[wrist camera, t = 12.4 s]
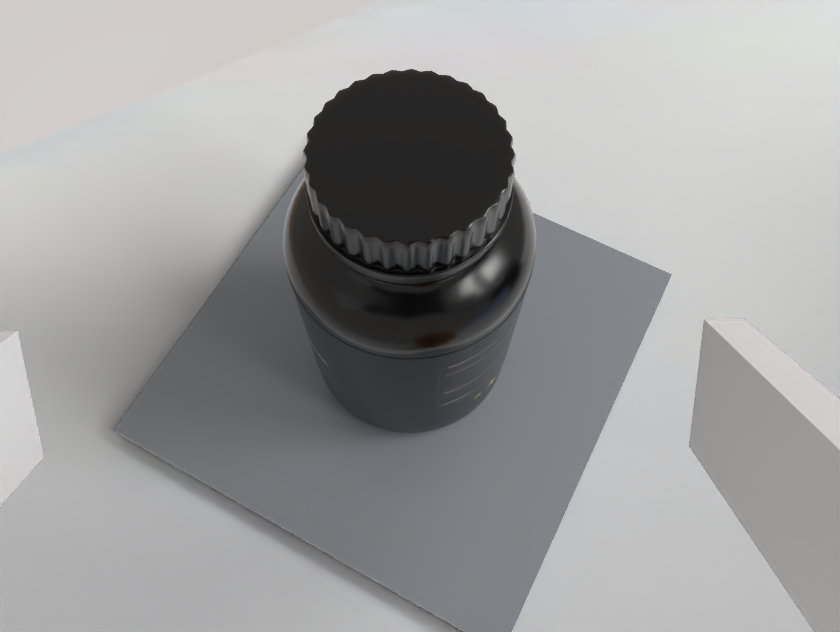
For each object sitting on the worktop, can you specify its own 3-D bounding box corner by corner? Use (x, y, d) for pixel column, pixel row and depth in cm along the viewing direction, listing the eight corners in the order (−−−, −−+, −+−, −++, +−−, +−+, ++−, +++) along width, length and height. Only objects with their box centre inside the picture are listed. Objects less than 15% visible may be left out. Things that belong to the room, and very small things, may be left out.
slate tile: (665, 284, 30) (671, 274, 29) (499, 652, 24) (502, 652, 24) (336, 137, 33) (334, 124, 32) (121, 435, 27) (113, 429, 27)
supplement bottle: (278, 364, 28) (187, 168, 17) (395, 235, 30) (382, -13, 19) (430, 480, 26) (438, 345, 15) (541, 333, 28) (620, 123, 17)
